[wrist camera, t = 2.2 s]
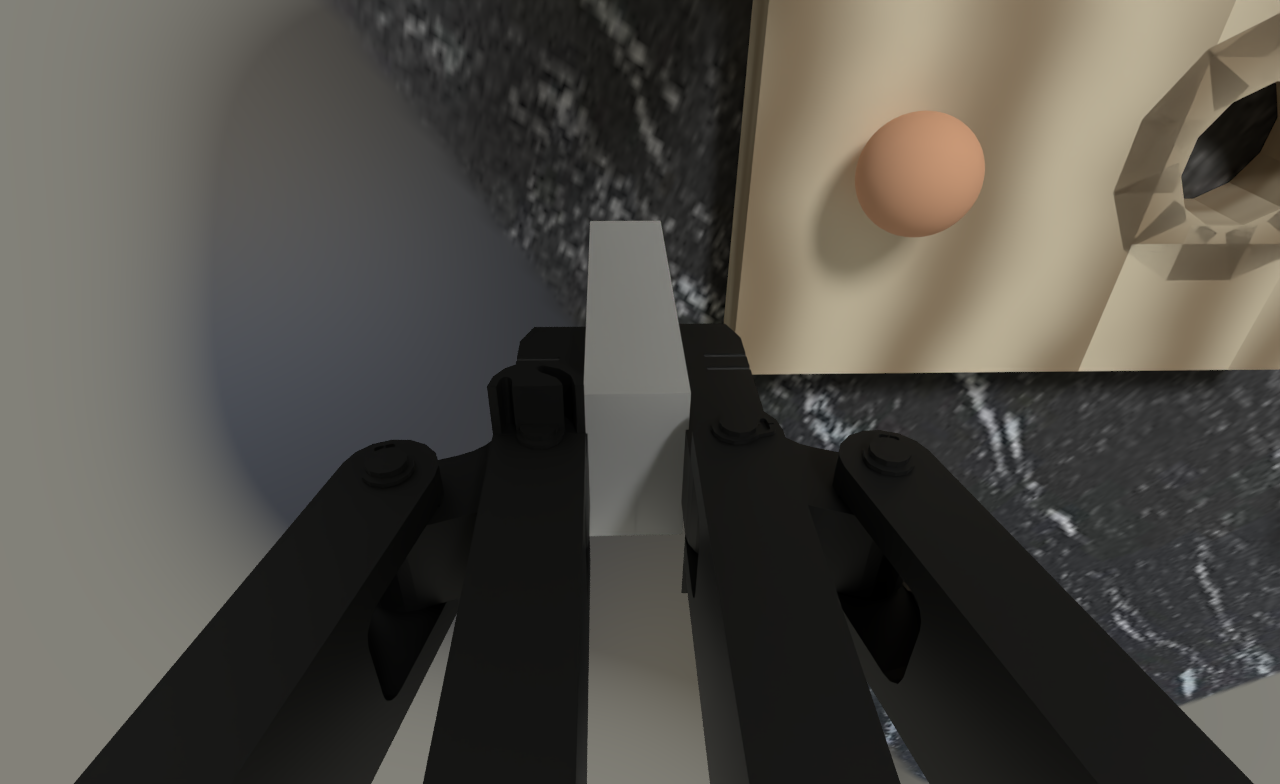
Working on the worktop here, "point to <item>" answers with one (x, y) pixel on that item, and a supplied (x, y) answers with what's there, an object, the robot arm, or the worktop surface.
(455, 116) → the worktop surface
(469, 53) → the worktop surface
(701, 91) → the worktop surface
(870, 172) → the ball
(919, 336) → the board
